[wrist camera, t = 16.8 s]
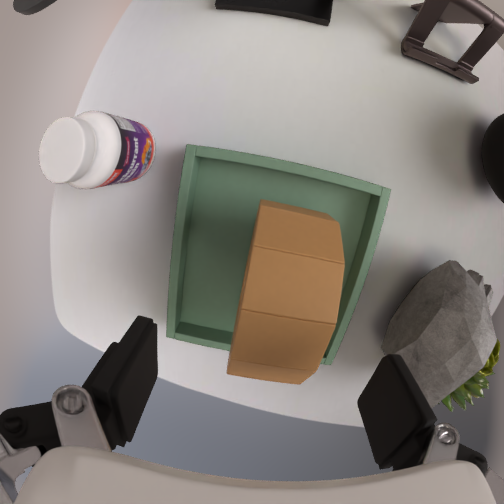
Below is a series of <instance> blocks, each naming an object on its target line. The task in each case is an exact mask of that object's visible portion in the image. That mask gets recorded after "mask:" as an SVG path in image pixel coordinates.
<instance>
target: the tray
mask: <svg viewBox="0 0 504 504" xmlns="http://www.w3.org/2000/svg"><path fill="white" fill-rule="evenodd" d="M390 192H391V189H388V188H385V187H382V186H379V185H376V184H373V183H369V182H366V181H363V180H359V179H356V178H352V177H349V176H345V175H342V174H338V173H334V172H331V171H327V170H323V169H319V168H315V167H311V166H307V165H302V164H298V163H294V162H289V161H284V160H280V159H275V158H270V157H265V156H260V155H255V154H249V153H243V152H238V151H232V150H225V149H219V148H212V147H205V146H197V145H190V144H187V145H186V150H185V156H184V162H183V168H182V174H181V180H180V187H179V194H178V201H177V209H176V217H175V225H174V234H173V243H172V253H171V264H170V277H169V291H168V308H167V331H166V337H169V338H173V339H174V338H175V339H177V340H181V341H185V342H189V343H194V344H198V345H202V346H207V347H212V348H217V349H222V350H227V351H230V348H231V342H232V336H233V331H234V326H235V320H236V315H237V310H238V304H239V299H240V294H241V289H242V284H243V279H244V273H245V268H246V264H247V259H248V254H249V249H250V244H251V239H252V234H253V229H254V225H255V220H256V215H257V211H258V207H259V203H260V199H264V200H269V201H274V202H279V203H283V204H288V205H293V206H297V207H302V208H306V209H310V210H315V211H319V212H323V213H327V214H328V215H330V216H331V217H332V218H334V219H335V220H336V221H337V222H339V224H340V231H341V238H342V245H343V253H344V261H345V263H344V264H345V267H344V275H343V283H342V290H341V297H340V304H339V310H338V317H337V322H336V324H335V325H336V326H335V329H334V331H333V334H332V336H331V339H330V341H329V344H328V346H327V348H326V351H325V353H324V355H323V358H322V360H321V362H320V364H325V365H331V364H332V362H333V359H334V357H335V355H336V353H337V351H338V348H339V346H340V344H341V341H342V339H343V337H344V334H345V332H346V329H347V327H348V325H349V322H350V320H351V317H352V314H353V312H354V309H355V307H356V304H357V301H358V299H359V296H360V293H361V290H362V288H363V285H364V282H365V279H366V276H367V273H368V270H369V267H370V264H371V261H372V258H373V254H374V251H375V248H376V245H377V241H378V238H379V234H380V231H381V227H382V224H383V220H384V216H385V212H386V208H387V204H388V200H389V196H390Z"/></svg>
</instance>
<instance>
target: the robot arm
mask: <svg viewBox="0 0 504 504" xmlns="http://www.w3.org/2000/svg"><path fill="white" fill-rule="evenodd" d="M157 375H158V361H157V324H156V323H153V319H151V318H147V317H143V316H138V317H137V318H136V319H135V321H134V322H133V323H132V325H131V326H130V328H129V329H128V331H127V332H126V333H125V335H124V336H123V338H122V339H121V341H120V342H119V343H117V342H113V343H112V344H111V345H110V346H109V347H108V349H107V350H106V352H105V353H104V355H103V356H102V358H101V359H100V360H99V362H98V363H97V365H96V366H95V368H94V369H93V371H92V372H91V374H90V375H89V377H88V378H87V380H86V381H85V383H84V384H83V386H82V387H80V386H76V385H65V386H62V387H60V388H58V389H57V390H56V391H55V392H54V393H53V396H52V401H51V402H46V403H40V404H35V405H29V406H24V407H17V408H11V409H7V410H5V411H4V412H2V414H1V415H0V504H504V480H503V479H502V478H501V477H500V476H498V475H497V474H496V473H495V472H494V471H493V470H492V469H491V468H488V469H487V461H486V458H485V457H484V456H483V455H482V454H480V453H478V452H476V451H474V450H472V449H470V448H468V447H466V446H464V445H462V444H460V443H459V439H460V436H459V433H458V431H457V430H456V429H455V427H453V426H452V425H451V424H448V423H439V424H438V425H436V426H435V425H434V423H435V422H436V421H437V418H436V416H435V414H434V413H433V411H432V409H431V407H430V405H429V403H428V401H427V400H426V398H425V396H424V394H423V392H422V391H421V389H420V387H419V385H418V384H417V382H416V380H415V378H414V377H413V375H412V373H411V372H410V370H409V368H408V367H407V365H406V363H405V362H404V360H403V358H402V357H401V355H399V354H387V355H386V356H385V357H383V358H382V359H381V361H380V363H379V365H378V367H377V368H376V370H375V372H374V374H373V375H372V377H371V379H370V380H369V382H368V384H367V385H366V387H365V389H364V390H363V392H362V394H361V395H360V397H359V398H358V408H359V411H360V414H361V417H362V420H363V423H364V427H365V430H366V433H367V436H368V439H369V443H370V446H371V449H372V453H373V456H374V459H375V462H376V463H377V464H378V465H379V468H380V469H385V468H390V467H391V466H393V471H392V472H387V473H382V474H376V475H370V476H363V477H356V478H348V479H338V480H326V481H302V482H300V481H295V482H294V481H293V482H292V481H290V482H288V481H260V480H247V479H237V478H229V477H221V476H214V475H208V474H202V473H197V472H191V471H186V470H181V469H177V468H172V467H168V466H164V465H160V464H156V463H152V462H149V461H145V460H141V459H137V458H134V457H130V456H127V455H123V454H119V453H115V452H112V450H114V449H115V448H116V445H119V446H122V447H124V446H125V444H126V441H128V442H131V440H132V438H133V436H134V433H135V431H136V428H137V426H138V423H139V420H140V418H141V416H142V413H143V411H144V408H145V406H146V403H147V401H148V398H149V396H150V394H151V391H152V389H153V386H154V384H155V382H156V379H157ZM30 466H32V467H33V468H32V470H31V471H30V473H29V475H28V476H27V478H26V480H25V482H24V483H23V485H22V487H21V490H20V491H19V494H18V493H17V491H16V488H15V481H16V478H17V477H18V476H19V475H21V474H22V473H24V472H25V471H24V469H26V468H28V467H30Z"/></svg>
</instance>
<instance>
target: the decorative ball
mask: <svg viewBox="0 0 504 504" xmlns="http://www.w3.org/2000/svg"><path fill="white" fill-rule="evenodd" d="M482 159H483V166H484V170H485V174H486V177H487V179H488V182H489V184H490V186H491V188H492V189H493V191H494V192H495V194H496V195H497V196H498V198H499V199H500V200H501V201H502V202H503V203H504V114H502V115H500V116H498V117H497V118H496V119H495V120H494V121H493V122H492V123H491V124H490V126H489V127H488V129H487V131H486V134H485V137H484V141H483V147H482Z"/></svg>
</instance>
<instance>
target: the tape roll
mask: <svg viewBox="0 0 504 504" xmlns="http://www.w3.org/2000/svg"><path fill="white" fill-rule="evenodd" d="M344 263H345V261H344V253H343V245H342V238H341V231H340V224H339V222H337V221H336V220H335V219H334V218H332V217H331V216H330V215H328V214H327V213H323V212H319V211H315V210H310V209H306V208H302V207H297V206H293V205H288V204H283V203H279V202H274V201H269V200H264V199H260V203H259V207H258V211H257V215H256V220H255V225H254V229H253V234H252V239H251V244H250V249H249V254H248V259H247V264H246V268H245V273H244V279H243V284H242V289H241V294H240V299H239V304H238V310H237V315H236V320H235V326H234V331H233V336H232V342H231V348H230V353H229V359H228V365H227V374H230V375H235V376H241V377H247V378H253V379H259V380H266V381H274V382H281V383H290V384H301V383H302V382H304V381H305V380H306V379H307V378H309V377H310V376H311V375H312V374H314V373H315V372H316V371H317V369H318V367H319V365H320V362H321V360H322V358H323V355H324V353H325V351H326V348H327V346H328V344H329V341H330V339H331V336H332V334H333V331H334V329H335V326H336V325H335V324H336V322H337V317H338V310H339V304H340V297H341V290H342V283H343V275H344V267H345V264H344Z"/></svg>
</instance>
